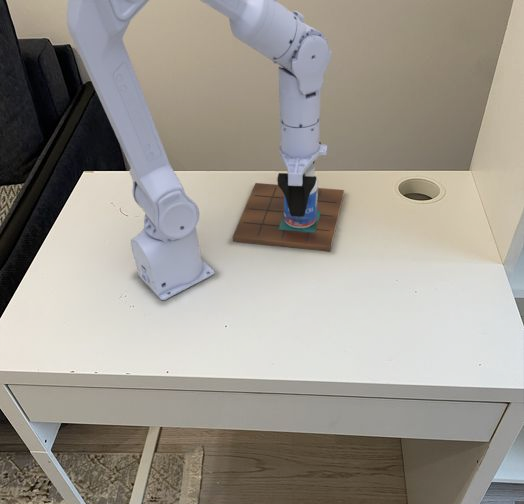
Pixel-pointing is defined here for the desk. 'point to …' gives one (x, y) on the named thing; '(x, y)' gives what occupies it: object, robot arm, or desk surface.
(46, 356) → the desk surface
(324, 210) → the board
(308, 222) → the pill bottle
